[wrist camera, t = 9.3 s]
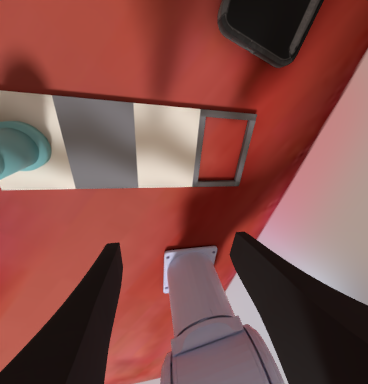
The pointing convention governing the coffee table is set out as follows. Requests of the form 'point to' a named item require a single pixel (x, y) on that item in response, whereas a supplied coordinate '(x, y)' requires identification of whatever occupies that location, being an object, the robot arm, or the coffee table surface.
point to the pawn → (21, 148)
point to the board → (115, 143)
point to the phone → (268, 26)
